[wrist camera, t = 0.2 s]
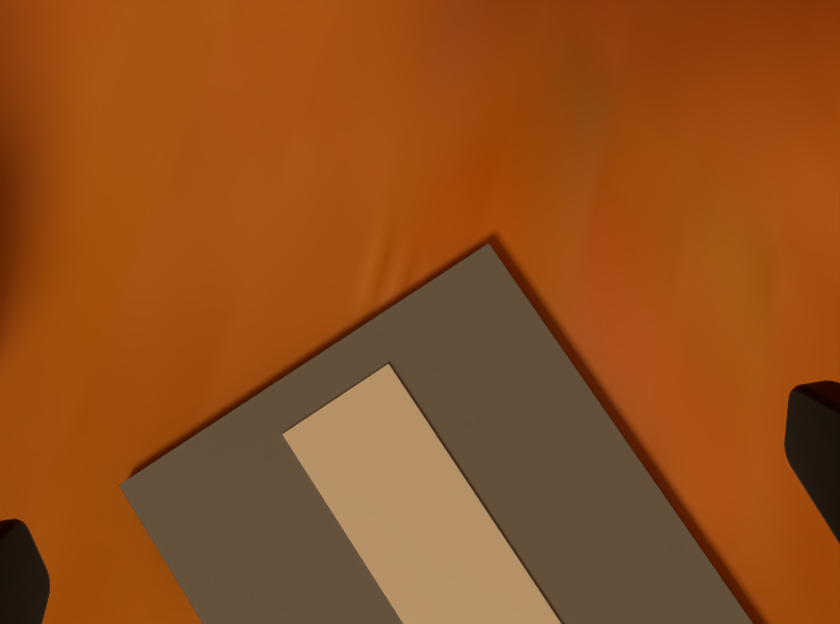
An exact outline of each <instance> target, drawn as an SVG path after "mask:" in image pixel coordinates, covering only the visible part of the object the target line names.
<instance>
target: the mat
mask: <svg viewBox="0 0 840 624" xmlns="http://www.w3.org/2000/svg"><path fill="white" fill-rule="evenodd" d="M119 486H120V488H121V490H122V491H123V493H124V495H125V496H126V498H127V499H128V501H129V503H130V504H131V506H132V508H133V509H134V511H135V513H136V514H137V516H138V518H139V519H140V521H141V523H142V524H143V526H144V527H145V529H146V531H147V532H148V534H149V536H150V537H151V539H152V541H153V542H154V544H155V546H156V547H157V549H158V550H159V552H160V554H161V555H162V557H163V559H164V560H165V562H166V564H167V565H168V567H169V569H170V570H171V572H172V574H173V575H174V577H175V578H176V580H177V582H178V583H179V585H180V587H181V588H182V590H183V592H184V593H185V595H186V597H187V598H188V600H189V601H190V603H191V605H192V606H193V608H194V610H195V611H196V613H197V615H198V616H199V618H200V620H201V621H202V623H203V624H753V623H752V622H751V620H750V619H749V617H748V616H747V614H746V613H745V611H744V610H743V609H742V607H741V606H740V604H739V603H738V601H737V600H736V598H735V597H734V596H733V594H732V593H731V591H730V590H729V588H728V587H727V586H726V584H725V583H724V581H723V580H722V578H721V577H720V575H719V574H718V573H717V571H716V570H715V568H714V567H713V565H712V564H711V562H710V561H709V560H708V558H707V557H706V555H705V554H704V552H703V551H702V550H701V548H700V547H699V545H698V544H697V542H696V541H695V539H694V538H693V537H692V535H691V534H690V532H689V531H688V529H687V528H686V526H685V525H684V524H683V522H682V521H681V519H680V518H679V516H678V515H677V514H676V512H675V511H674V509H673V508H672V506H671V505H670V503H669V502H668V501H667V499H666V498H665V496H664V495H663V493H662V492H661V491H660V489H659V488H658V486H657V485H656V483H655V482H654V480H653V479H652V478H651V476H650V475H649V473H648V472H647V470H646V469H645V467H644V466H643V465H642V463H641V462H640V460H639V459H638V457H637V456H636V455H635V453H634V452H633V450H632V449H631V447H630V446H629V444H628V443H627V442H626V440H625V439H624V437H623V436H622V434H621V433H620V431H619V430H618V429H617V427H616V426H615V424H614V423H613V421H612V420H611V419H610V417H609V416H608V414H607V413H606V411H605V410H604V408H603V407H602V406H601V404H600V403H599V401H598V400H597V398H596V397H595V395H594V394H593V393H592V391H591V390H590V388H589V387H588V385H587V384H586V383H585V381H584V380H583V378H582V377H581V375H580V374H579V372H578V371H577V370H576V368H575V367H574V365H573V364H572V362H571V361H570V359H569V358H568V357H567V355H566V354H565V352H564V351H563V349H562V348H561V347H560V345H559V344H558V342H557V341H556V339H555V338H554V336H553V335H552V334H551V332H550V331H549V329H548V328H547V326H546V325H545V323H544V322H543V321H542V319H541V318H540V316H539V315H538V313H537V312H536V311H535V309H534V308H533V306H532V305H531V303H530V302H529V300H528V299H527V298H526V296H525V295H524V293H523V292H522V290H521V289H520V288H519V286H518V285H517V283H516V282H515V280H514V279H513V277H512V276H511V275H510V273H509V272H508V270H507V269H506V267H505V266H504V264H503V263H502V262H501V260H500V259H499V257H498V256H497V254H496V253H495V252H494V250H493V249H492V247H491V246H490V244H489V243H488V244H487V245H485V246H484V247H482V248H481V249H479V250H478V251H476V252H475V253H473V254H472V255H470V256H469V257H467V258H466V259H464V260H462V261H461V262H459V263H458V264H456V265H455V266H453V267H452V268H450V269H449V270H447V271H446V272H444V273H443V274H441V275H440V276H438V277H436V278H435V279H433V280H432V281H430V282H429V283H427V284H426V285H424V286H423V287H421V288H420V289H418V290H417V291H415V292H413V293H412V294H410V295H409V296H407V297H406V298H404V299H403V300H401V301H400V302H398V303H397V304H395V305H394V306H392V307H391V308H389V309H387V310H386V311H384V312H383V313H381V314H380V315H378V316H377V317H375V318H374V319H372V320H371V321H369V322H368V323H366V324H365V325H363V326H361V327H360V328H358V329H357V330H355V331H354V332H352V333H351V334H349V335H348V336H346V337H345V338H343V339H342V340H340V341H339V342H337V343H335V344H334V345H332V346H331V347H329V348H328V349H326V350H325V351H323V352H322V353H320V354H319V355H317V356H316V357H314V358H313V359H311V360H309V361H308V362H306V363H305V364H303V365H302V366H300V367H299V368H297V369H296V370H294V371H293V372H291V373H290V374H288V375H287V376H285V377H283V378H282V379H280V380H279V381H277V382H276V383H274V384H273V385H271V386H270V387H268V388H267V389H265V390H264V391H262V392H261V393H259V394H257V395H256V396H254V397H253V398H251V399H250V400H248V401H247V402H245V403H244V404H242V405H241V406H239V407H238V408H236V409H235V410H233V411H231V412H230V413H228V414H227V415H225V416H224V417H222V418H221V419H219V420H218V421H216V422H215V423H213V424H212V425H210V426H209V427H207V428H205V429H204V430H202V431H201V432H199V433H198V434H196V435H195V436H193V437H192V438H190V439H189V440H187V441H186V442H184V443H182V444H181V445H179V446H178V447H176V448H175V449H173V450H172V451H170V452H169V453H167V454H166V455H164V456H163V457H161V458H160V459H158V460H156V461H155V462H153V463H152V464H150V465H149V466H147V467H146V468H144V469H143V470H141V471H140V472H138V473H137V474H135V475H134V476H132V477H130V478H129V479H127V480H126V481H124V482H123V483H121V484H120V485H119Z"/></svg>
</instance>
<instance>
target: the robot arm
mask: <svg viewBox="0 0 840 624" xmlns="http://www.w3.org/2000/svg"><path fill="white" fill-rule="evenodd" d="M784 446H785V453H786V457H787V459H788V462H789V464H790V466H791V468H792V469H793V471H794V472H795V474H796V475H797V477H798V479H799V480H800V482H801V483H802V485H803V487H804V488H805V490H806V491H807V493H808V494H809V496H810V498H811V499H812V501H813V502H814V504H815V506H816V507H817V509H818V510H819V512H820V514H821V515H822V517H823V518H824V520H825V521H826V523H827V525H828V526H829V528H830V529H831V531H832V533H833V534H834V536H835V537H836V539H837V541H838V542H839V544H840V383H838V382H834V381H819V382H813V383H807V384H802V385H797V386H796V387H795V388H793V389H792V390H791V392H790V395H789V399H788V409H787V420H786V431H785V441H784ZM49 593H50V579H49V574H48V571H47V568H46V566H45V564H44V562H43V560H42V557H41V555H40V553H39V551H38V549H37V546H36V544H35V542H34V540H33V538H32V535H31V533H30V531H29V529H28V527H27V526H26V524H25V523H24V522H23V521H21V520H18V519H9V520H3V521H0V624H42V622H43V618H44V614H45V610H46V606H47V602H48V598H49Z"/></svg>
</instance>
